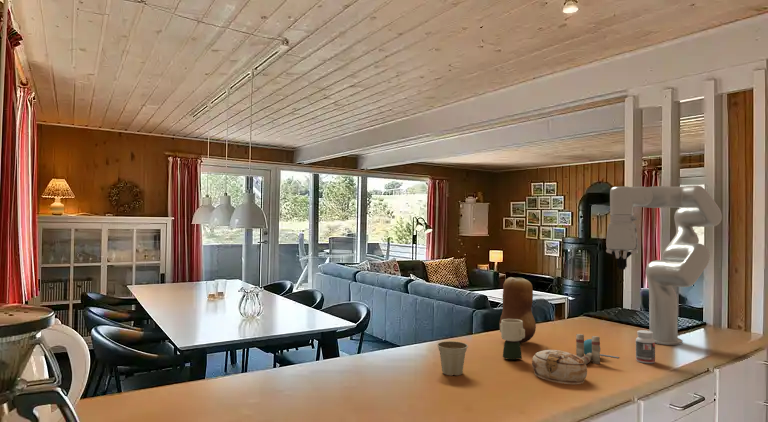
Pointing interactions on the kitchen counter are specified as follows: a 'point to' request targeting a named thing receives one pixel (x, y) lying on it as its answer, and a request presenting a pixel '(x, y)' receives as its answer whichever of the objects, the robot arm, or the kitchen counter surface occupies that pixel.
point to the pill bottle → (645, 347)
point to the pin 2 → (595, 349)
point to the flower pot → (452, 357)
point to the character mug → (512, 337)
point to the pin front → (587, 358)
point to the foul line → (609, 356)
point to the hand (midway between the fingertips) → (621, 269)
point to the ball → (588, 346)
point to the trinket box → (559, 367)
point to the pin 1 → (579, 345)
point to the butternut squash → (519, 304)
